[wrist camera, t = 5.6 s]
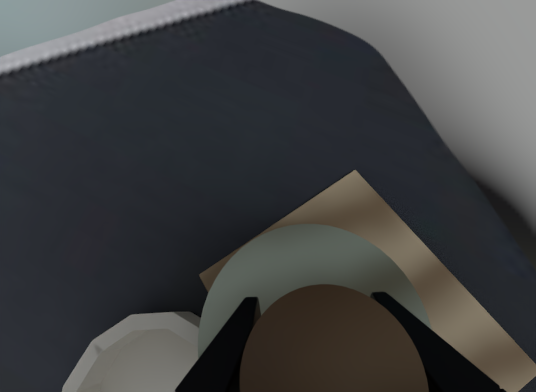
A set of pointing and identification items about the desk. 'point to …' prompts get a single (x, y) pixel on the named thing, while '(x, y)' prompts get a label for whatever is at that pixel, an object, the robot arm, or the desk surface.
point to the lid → (318, 314)
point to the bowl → (139, 355)
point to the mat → (413, 278)
